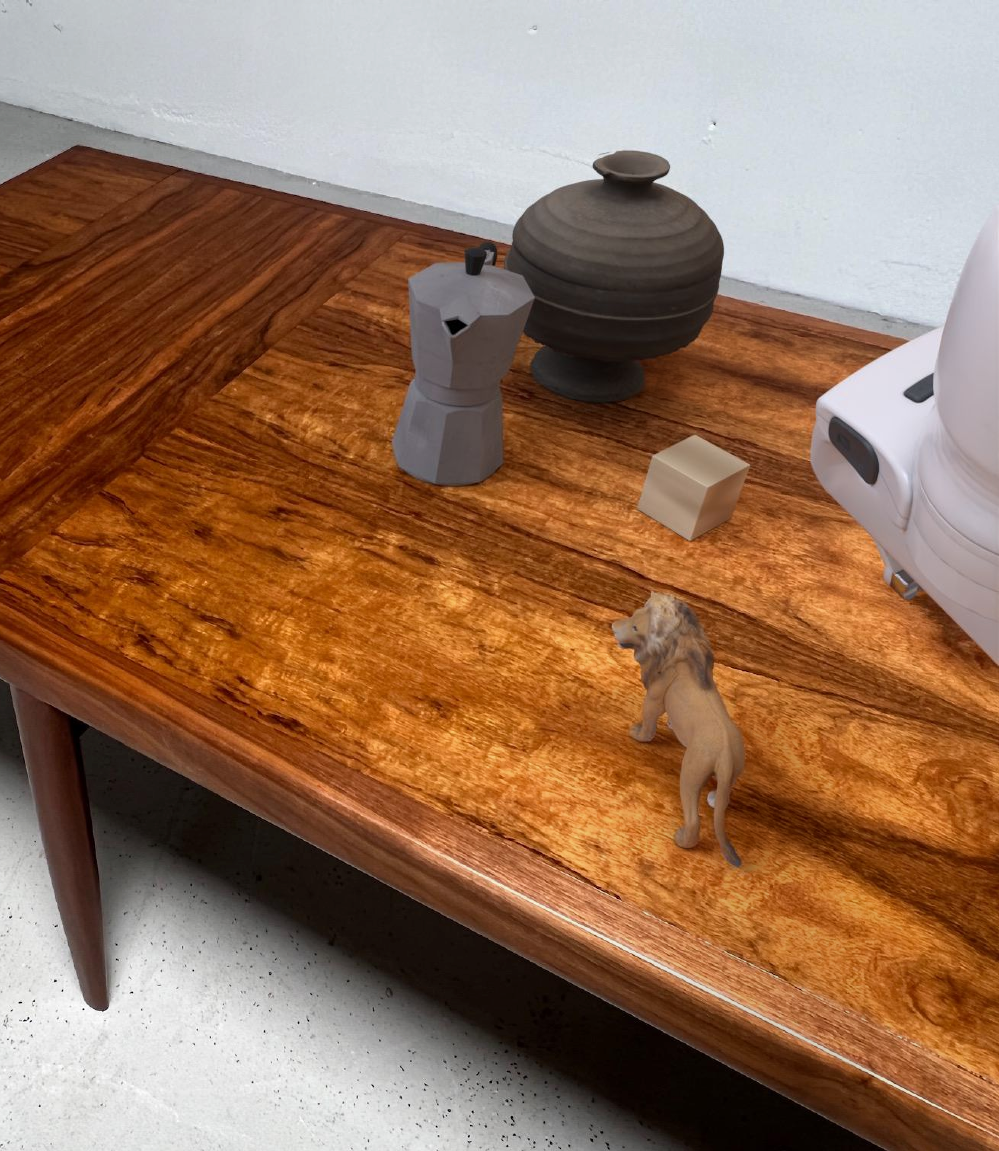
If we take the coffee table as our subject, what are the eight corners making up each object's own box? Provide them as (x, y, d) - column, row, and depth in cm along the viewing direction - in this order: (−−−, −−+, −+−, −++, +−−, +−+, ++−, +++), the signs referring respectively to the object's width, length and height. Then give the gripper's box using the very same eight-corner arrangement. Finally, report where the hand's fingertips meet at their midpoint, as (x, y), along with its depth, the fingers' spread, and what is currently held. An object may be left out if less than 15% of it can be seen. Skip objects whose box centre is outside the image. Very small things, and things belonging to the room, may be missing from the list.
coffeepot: (489, 512, 87) (528, 298, 76) (371, 488, 90) (391, 277, 78) (520, 412, 98) (558, 212, 87) (413, 393, 101) (437, 196, 89)
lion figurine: (582, 690, 73) (612, 585, 67) (658, 679, 74) (694, 574, 68) (694, 880, 62) (741, 774, 56) (782, 865, 63) (838, 759, 57)
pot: (453, 390, 100) (500, 160, 88) (516, 323, 113) (564, 114, 101) (656, 451, 93) (737, 211, 81) (698, 372, 106) (773, 155, 94)
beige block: (678, 487, 90) (694, 434, 87) (731, 518, 87) (750, 464, 83) (636, 508, 88) (652, 455, 84) (689, 541, 85) (708, 487, 81)
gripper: (1407, 683, 35) (1245, 815, 46) (926, 296, 47) (890, 476, 58) (1214, 783, 35) (1100, 889, 46) (788, 376, 47) (779, 538, 58)
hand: (981, 657), depth 52 cm, fingers open, 8 cm apart
